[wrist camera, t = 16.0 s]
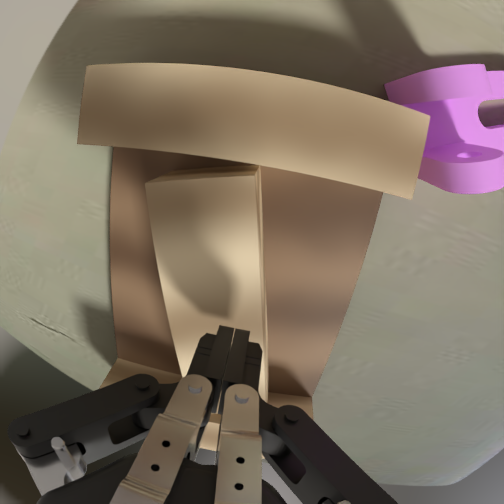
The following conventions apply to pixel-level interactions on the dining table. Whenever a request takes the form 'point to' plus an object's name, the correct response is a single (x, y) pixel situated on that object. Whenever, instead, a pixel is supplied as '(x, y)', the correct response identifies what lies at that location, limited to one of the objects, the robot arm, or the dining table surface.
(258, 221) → the oak plank
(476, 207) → the dining table surface
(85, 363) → the dining table surface
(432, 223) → the dining table surface
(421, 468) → the dining table surface
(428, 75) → the bracket
